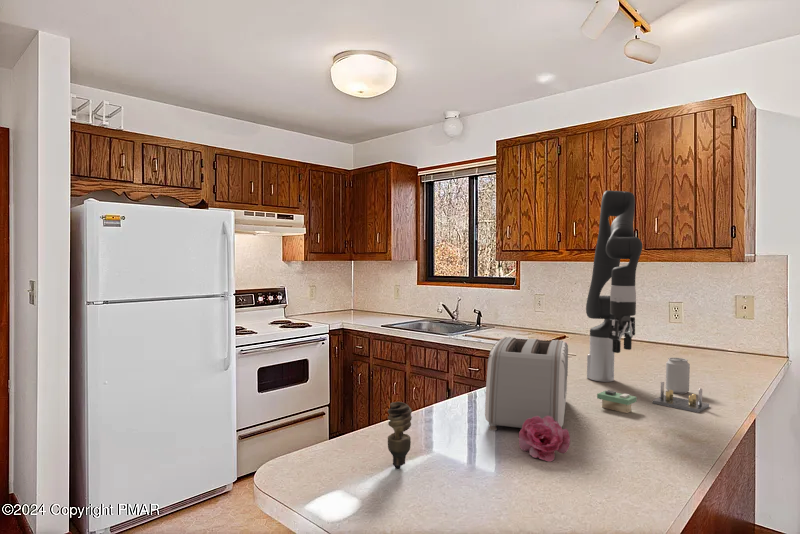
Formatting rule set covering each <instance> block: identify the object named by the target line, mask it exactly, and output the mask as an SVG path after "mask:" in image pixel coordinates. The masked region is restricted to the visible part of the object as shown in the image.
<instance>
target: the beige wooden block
mask: <svg viewBox="0 0 800 534" xmlns="http://www.w3.org/2000/svg"><path fill="white" fill-rule="evenodd" d="M601 400H602V399H601ZM601 403H602V404H601V408H602V409H603V408H604V409H607V410H612V411H616V412H620V413H625V414H628V413H631V411H632V404H630V405H626V404H621V403H616V402H612V401H607V400H602V402H601Z"/></svg>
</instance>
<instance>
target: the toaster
mask: <svg viewBox="0 0 800 534" xmlns="http://www.w3.org/2000/svg"><path fill="white" fill-rule="evenodd" d="M568 360H569V346H568V343H567V342H565V341H564V340H559V339H552V340H543V339H538V338H527V339H526V338H516V337H512V336H508V337H507V336H504V337H503V338H500V339H498V341H497V342H496V343H495V344H494V345H492V348H491V349H490V351H489V355H488V358H487V372H486V384H485V400H484V401H485V403H484V408H485V409H484V417H485V420H486V421H487V422H488V425H489V427H488V430H489V431H493V432H495V431H498V428H497V426H501V427H509V428H510V427H511V428H518V429H522V425H523V423H524V422H525V421H526V419H528V418H530V419H531V418H532V417H535V416H539V417H540V418H541V419H542V418H544V417H545V416H547V415H548V416H551V417H553V419H554V420H555V421H557V422H558V423H559V425H560V426H561V428H562V429H563V426H564V422H565V411H566V403H567V395H568V393H567V392H568V376H569V375H568V373H569V372H568V371H569V369H568V368H569V367H568V365H569V364H568V363H569V361H568Z"/></svg>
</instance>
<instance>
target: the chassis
mask: <svg viewBox="0 0 800 534" xmlns="http://www.w3.org/2000/svg"><path fill="white" fill-rule="evenodd" d="M697 398H698V401H697ZM652 405H659V406H664V407H669V408H673V409H674V408H675V409H679V410H683V411H689V412H693V413H698V414H699V413H701V412H703V411H705V410H706V409H708V408H709V407H710V403H708V402H703V388H700V387H698V397H697V394H696V393H692V394H690V395H688V399H686V398H681V397H675V396H674V393H673V390H669V391H668V390H666V391H665V382H664V381H660V396H659V397H657V398H654V399H653V400H652Z"/></svg>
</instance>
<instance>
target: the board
mask: <svg viewBox="0 0 800 534" xmlns="http://www.w3.org/2000/svg"><path fill="white" fill-rule="evenodd" d="M596 395H597V396H596V397H597V399H598V400H607V401H612V402H616V403H621V404H626V405H630V404H631V405H632V404H634V403H637V400H638V399H637V396H634V395H631V394H629V393H621V392H620V393H619V392H617V391H614V390H609V389H607V390H603V391H601V392H598V393H597V394H596Z"/></svg>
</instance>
